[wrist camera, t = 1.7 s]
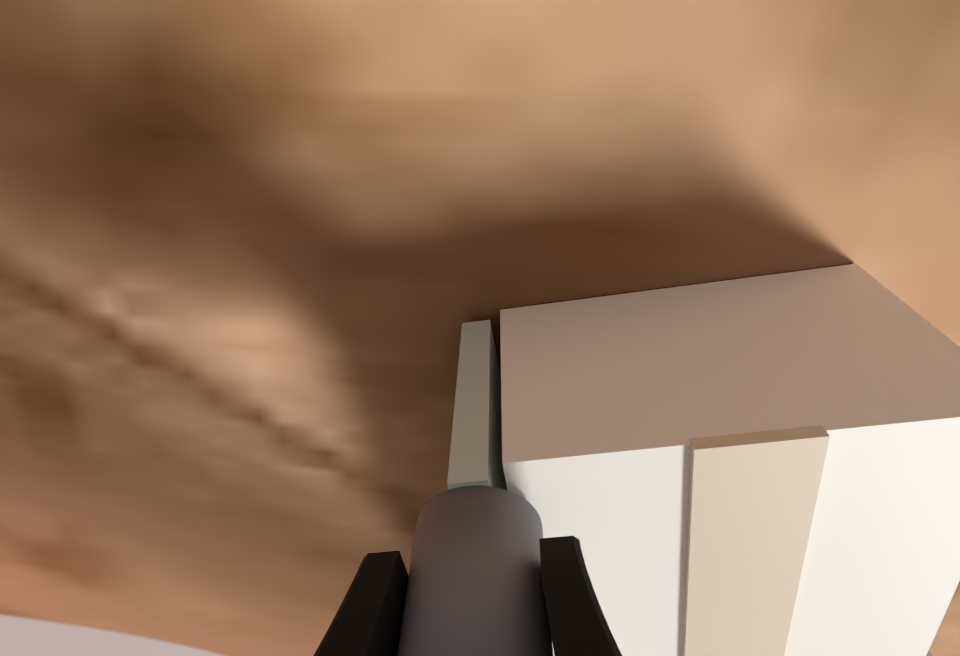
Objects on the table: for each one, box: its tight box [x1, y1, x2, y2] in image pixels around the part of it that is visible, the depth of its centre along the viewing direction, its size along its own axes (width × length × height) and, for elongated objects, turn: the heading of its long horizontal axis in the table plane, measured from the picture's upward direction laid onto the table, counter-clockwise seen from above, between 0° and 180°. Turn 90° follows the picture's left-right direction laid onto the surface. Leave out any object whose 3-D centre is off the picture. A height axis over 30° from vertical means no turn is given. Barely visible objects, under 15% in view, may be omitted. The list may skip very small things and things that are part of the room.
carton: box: [500, 264, 960, 656], centre depth 17 cm, size 14×10×6 cm
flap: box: [397, 320, 553, 656], centre depth 16 cm, size 14×3×10 cm, turn 9°
